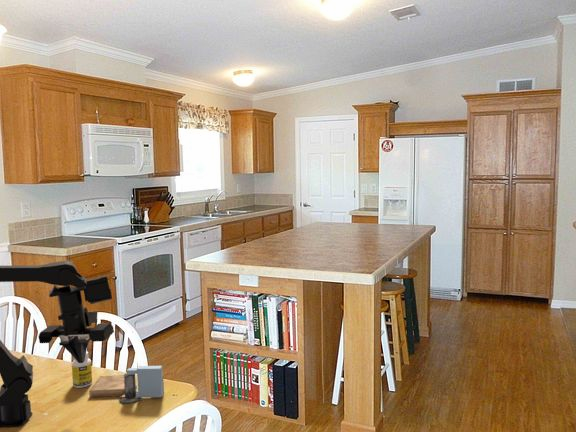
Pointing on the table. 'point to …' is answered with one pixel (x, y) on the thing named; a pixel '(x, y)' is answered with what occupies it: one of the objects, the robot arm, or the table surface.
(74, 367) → the supplement bottle
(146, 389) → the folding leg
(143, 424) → the table surface
